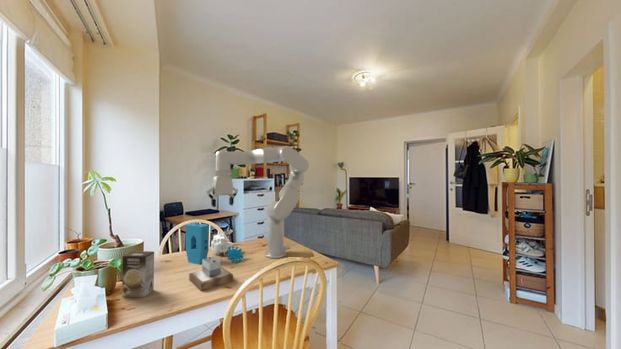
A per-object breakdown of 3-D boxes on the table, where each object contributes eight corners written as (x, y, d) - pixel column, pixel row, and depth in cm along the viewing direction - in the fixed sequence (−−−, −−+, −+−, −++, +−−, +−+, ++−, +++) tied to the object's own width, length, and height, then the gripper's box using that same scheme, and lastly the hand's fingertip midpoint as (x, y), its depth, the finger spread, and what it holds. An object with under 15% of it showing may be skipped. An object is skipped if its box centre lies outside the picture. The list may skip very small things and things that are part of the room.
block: (184, 261, 137) (184, 224, 136) (192, 258, 141) (192, 222, 141) (202, 264, 132) (202, 226, 132) (209, 261, 137) (209, 224, 137)
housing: (213, 269, 119) (213, 255, 119) (220, 274, 113) (220, 260, 113) (202, 272, 115) (202, 258, 115) (209, 277, 109) (209, 262, 109)
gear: (229, 262, 132) (225, 245, 138) (224, 268, 135) (220, 251, 140) (248, 260, 139) (243, 244, 145) (243, 266, 142) (238, 250, 148)
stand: (219, 271, 124) (219, 265, 124) (232, 281, 114) (233, 273, 114) (189, 280, 114) (189, 272, 114) (201, 291, 104) (201, 283, 104)
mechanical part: (236, 253, 152) (236, 233, 152) (217, 258, 143) (218, 237, 142) (226, 249, 159) (226, 230, 159) (207, 253, 150) (208, 233, 150)
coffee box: (121, 297, 98) (121, 256, 98) (132, 289, 105) (132, 250, 105) (145, 297, 99) (145, 256, 98) (154, 289, 105) (154, 250, 105)
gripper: (234, 174, 145) (234, 203, 146) (203, 174, 133) (203, 206, 134) (241, 174, 140) (240, 205, 140) (209, 174, 128) (209, 208, 128)
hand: (222, 205), depth 137 cm, fingers open, 9 cm apart
